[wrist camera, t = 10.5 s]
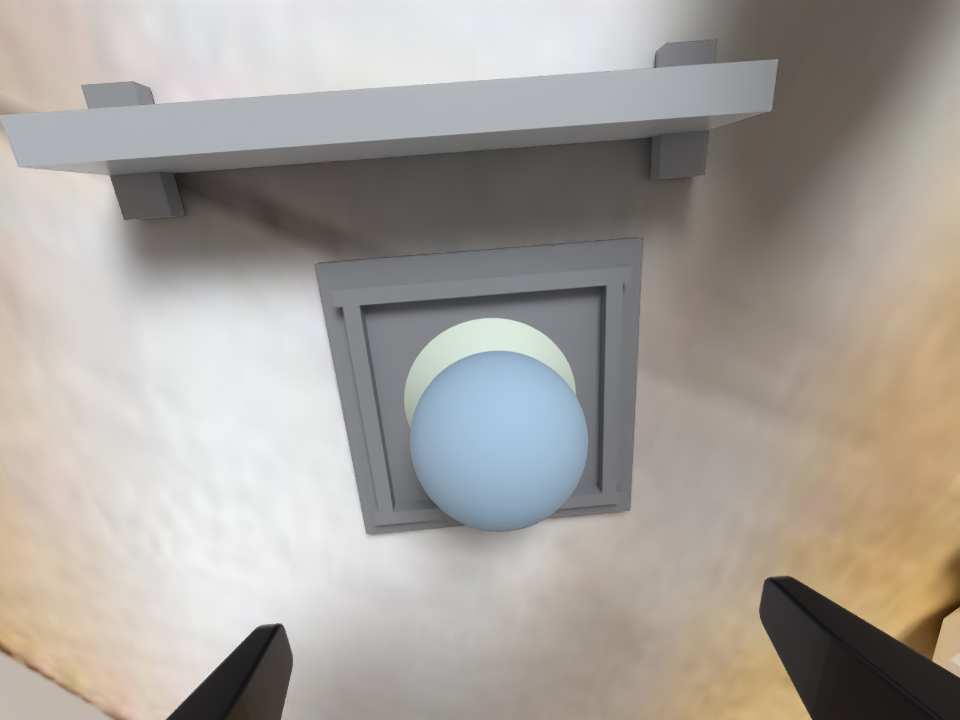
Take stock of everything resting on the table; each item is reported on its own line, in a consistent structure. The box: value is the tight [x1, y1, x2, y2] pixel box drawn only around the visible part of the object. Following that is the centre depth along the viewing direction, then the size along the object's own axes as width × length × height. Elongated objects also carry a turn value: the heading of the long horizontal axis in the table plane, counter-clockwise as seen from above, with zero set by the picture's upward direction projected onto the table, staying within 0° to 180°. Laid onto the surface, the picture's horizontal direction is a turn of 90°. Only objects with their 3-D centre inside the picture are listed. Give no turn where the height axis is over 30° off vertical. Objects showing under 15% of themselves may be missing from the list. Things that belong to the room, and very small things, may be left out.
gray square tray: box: [315, 237, 643, 534], centre depth 18 cm, size 12×12×1 cm
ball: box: [410, 351, 588, 532], centre depth 15 cm, size 6×6×6 cm
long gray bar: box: [0, 40, 778, 220], centre depth 13 cm, size 20×4×4 cm, turn 94°
